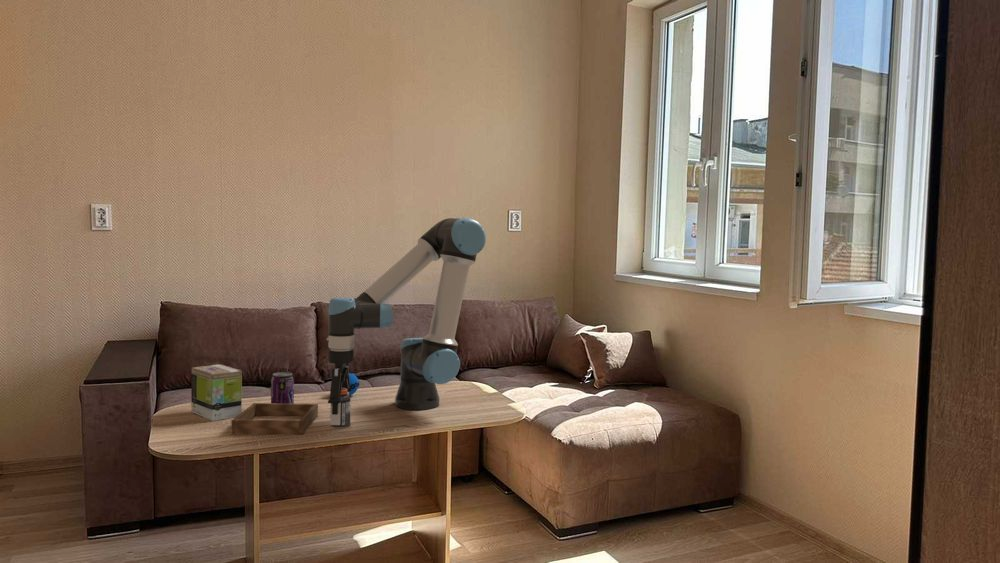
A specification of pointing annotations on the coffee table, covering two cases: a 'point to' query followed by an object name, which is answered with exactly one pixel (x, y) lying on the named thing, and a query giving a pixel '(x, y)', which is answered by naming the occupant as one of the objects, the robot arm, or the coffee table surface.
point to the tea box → (216, 392)
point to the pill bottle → (344, 410)
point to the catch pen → (275, 427)
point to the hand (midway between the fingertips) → (339, 418)
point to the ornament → (353, 383)
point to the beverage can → (282, 388)
